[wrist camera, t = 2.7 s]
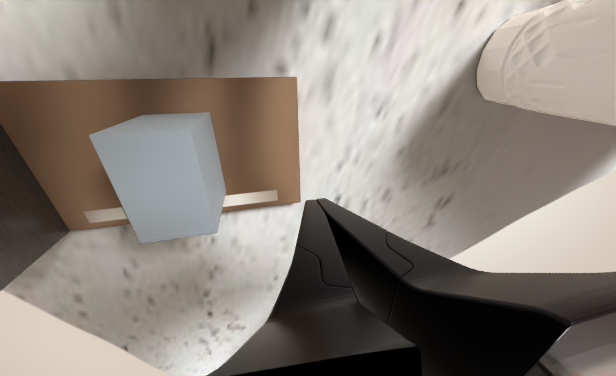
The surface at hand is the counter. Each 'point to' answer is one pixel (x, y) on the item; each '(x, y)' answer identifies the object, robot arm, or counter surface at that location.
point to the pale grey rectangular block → (165, 174)
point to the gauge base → (148, 101)
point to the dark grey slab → (23, 214)
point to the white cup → (555, 61)
